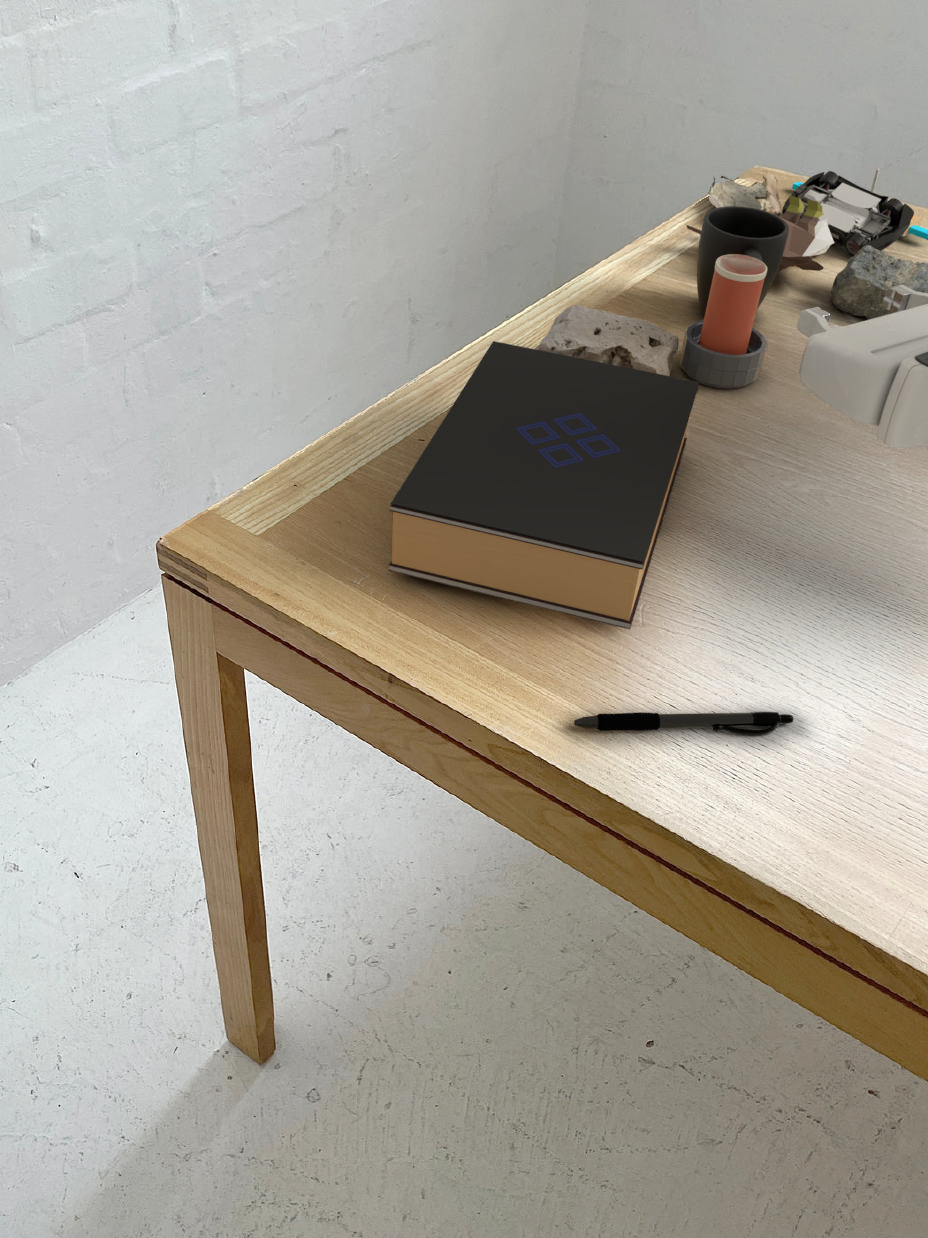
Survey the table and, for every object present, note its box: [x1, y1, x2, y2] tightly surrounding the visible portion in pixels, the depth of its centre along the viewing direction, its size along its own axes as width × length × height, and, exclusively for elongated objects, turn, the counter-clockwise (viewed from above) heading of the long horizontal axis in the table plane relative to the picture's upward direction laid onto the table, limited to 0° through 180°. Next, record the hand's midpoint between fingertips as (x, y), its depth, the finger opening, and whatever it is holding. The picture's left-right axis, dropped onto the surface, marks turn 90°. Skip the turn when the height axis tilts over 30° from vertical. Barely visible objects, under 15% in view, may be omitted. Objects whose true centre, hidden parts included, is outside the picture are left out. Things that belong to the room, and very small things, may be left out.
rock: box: [830, 245, 928, 320], centre depth 118 cm, size 12×10×5 cm
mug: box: [696, 206, 789, 318], centre depth 111 cm, size 8×12×10 cm
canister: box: [699, 254, 767, 355], centre depth 102 cm, size 4×4×10 cm
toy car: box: [781, 170, 915, 257], centre depth 131 cm, size 7×15×4 cm, turn 38°
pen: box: [573, 711, 794, 737], centre depth 70 cm, size 14×2×1 cm, turn 95°
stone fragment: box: [695, 170, 782, 240], centre depth 135 cm, size 19×8×5 cm
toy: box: [685, 195, 835, 272], centre depth 122 cm, size 16×16×7 cm
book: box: [388, 340, 700, 630], centre depth 85 cm, size 17×25×7 cm
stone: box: [534, 304, 680, 376], centre depth 103 cm, size 13×6×10 cm
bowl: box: [679, 319, 768, 390], centre depth 105 cm, size 7×7×4 cm
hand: (848, 305), depth 91 cm, fingers open, 8 cm apart
